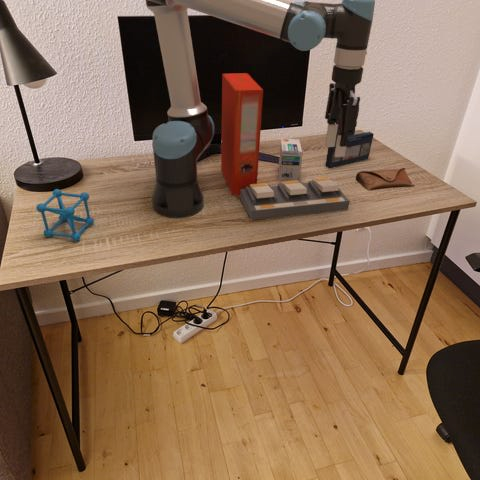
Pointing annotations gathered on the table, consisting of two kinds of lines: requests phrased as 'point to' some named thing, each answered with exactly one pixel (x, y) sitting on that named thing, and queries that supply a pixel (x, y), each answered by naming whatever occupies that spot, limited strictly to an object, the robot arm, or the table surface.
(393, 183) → the sunglasses case
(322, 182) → the switch right
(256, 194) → the switch left
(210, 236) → the table surface
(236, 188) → the file binder
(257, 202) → the switch unit
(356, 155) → the vhs cassette tape
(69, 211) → the molecular structure
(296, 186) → the switch middle
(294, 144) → the light bulb box
